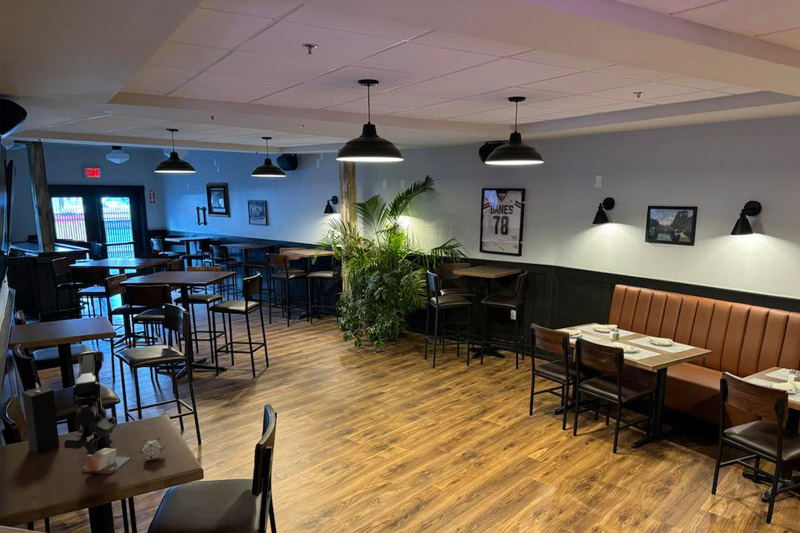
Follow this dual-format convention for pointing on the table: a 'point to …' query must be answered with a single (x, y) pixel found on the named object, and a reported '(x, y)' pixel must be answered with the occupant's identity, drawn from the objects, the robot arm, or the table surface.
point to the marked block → (100, 459)
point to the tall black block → (41, 419)
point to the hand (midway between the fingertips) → (92, 454)
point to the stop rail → (105, 470)
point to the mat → (119, 462)
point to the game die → (152, 449)
